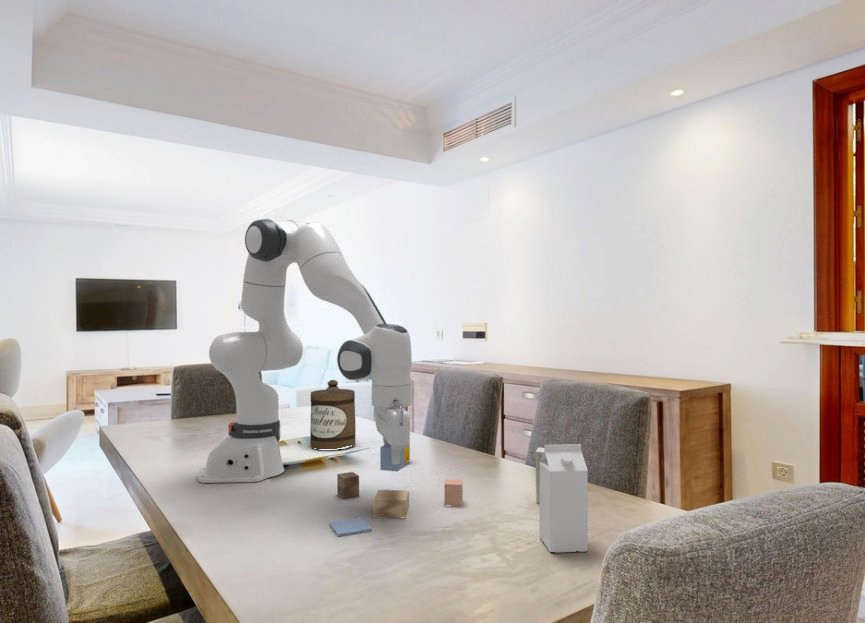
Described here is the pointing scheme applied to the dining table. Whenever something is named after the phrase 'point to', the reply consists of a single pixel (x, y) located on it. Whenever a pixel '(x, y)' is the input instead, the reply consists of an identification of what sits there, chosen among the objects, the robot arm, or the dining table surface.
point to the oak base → (391, 503)
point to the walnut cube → (348, 485)
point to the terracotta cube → (453, 492)
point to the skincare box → (538, 472)
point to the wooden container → (332, 417)
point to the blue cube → (386, 459)
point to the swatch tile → (349, 526)
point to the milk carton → (564, 498)
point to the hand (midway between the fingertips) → (392, 459)
